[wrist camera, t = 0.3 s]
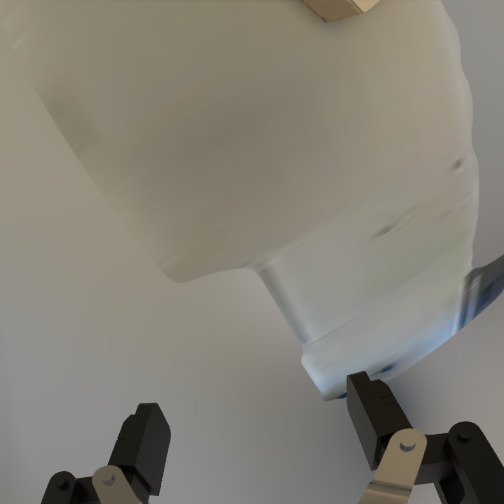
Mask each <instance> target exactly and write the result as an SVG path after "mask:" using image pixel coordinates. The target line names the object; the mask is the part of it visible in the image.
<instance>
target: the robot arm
mask: <svg viewBox="0 0 504 504" xmlns="http://www.w3.org/2000/svg"><path fill="white" fill-rule="evenodd" d="M347 407H348V411H349V414H350V417H351V419H352V422H353V424H354V427H355V429H356V432H357V435H358V437H359V440H360V442H361V445H362V447H363V450H364V453H365V455H366V458H367V460H368V463H369V466H370V469H371V471H373V470H376V469H377V471H376V474H375V476H374V478H373V480H372V481H371V483H369V484H368V486H367V488H366V489H365V491H364V493H363V495H362V497H361V499H360V501H359V503H358V504H407V502H408V499H409V497H410V494H411V490H412V487H413V485H419V484H427V483H434V485H435V488H436V490H437V493H438V495H439V498H440V500H441V503H442V504H504V467H503V465H502V463H501V462H500V460H499V458H498V457H497V455H496V453H495V452H494V450H493V448H492V447H491V445H490V443H489V442H488V440H487V439H486V437H485V436H484V434H483V432H482V431H481V429H480V428H479V426H477V425H476V424H475V423H472V422H467V421H464V422H459V423H457V424H455V425H454V426H453V427H451V429H450V430H449V432H448V433H443V434H436V435H425V434H423V433H422V432H420V431H418V430H416V429H413V427H412V426H411V424H410V422H409V421H408V419H407V417H406V415H405V414H404V412H403V410H402V409H401V407H400V405H399V403H398V402H397V400H396V398H395V397H394V395H393V393H392V392H391V390H390V388H389V387H388V385H387V384H385V383H384V382H382V381H381V380H379V379H378V380H374V381H370V379H369V377H368V375H367V373H366V372H365V371H362V372H358V373H354V374H350V375H347ZM170 438H171V432H170V428H169V425H168V423H167V421H166V419H165V417H164V415H163V413H162V411H161V409H160V407H159V405H158V404H157V403H141V404H139V405H138V408H137V410H136V413H135V415H130V416H129V417H128V418H127V419H126V420H125V421H124V422H123V425H122V428H121V430H120V433H119V435H118V440H117V441H116V443H115V446H114V449H113V452H112V454H111V457H110V460H109V463H108V465H107V466H104V467H101V468H99V469H98V470H97V471H96V472H95V473H94V475H93V476H92V477H84V478H77V479H76V478H75V477H74V476H73V475H72V474H71V473H70V472H67V471H61V472H58V473H56V474H55V475H53V476H52V477H51V479H50V481H49V484H48V486H47V488H46V491H45V494H44V496H43V499H42V502H41V504H150V503H149V502H148V499H149V495H154V496H159V492H160V487H161V482H162V477H163V472H164V467H165V462H166V457H167V453H168V448H169V443H170Z"/></svg>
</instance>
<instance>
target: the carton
mask: <svg viewBox="0 0 504 504" xmlns="http://www.w3.org/2000/svg"><path fill="white" fill-rule="evenodd" d="M302 1H303V2H304V3H305V4H307V5H308V6H309V7H310V8H311V9H312V10H313V11H314V12H315V13H316V14H317V15H319V16H320V17H321V18H322V19H323V20H324V21H325V22H329V21H333V20H337V19H341V18H345V17H350V16H354V15H359V14H361V12H360V11H359V10H358V9H357V8H356V7H355V6H354V5H353V4H352V3H351V2H350V1H349V0H302Z"/></svg>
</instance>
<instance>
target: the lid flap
mask: <svg viewBox="0 0 504 504" xmlns="http://www.w3.org/2000/svg"><path fill="white" fill-rule="evenodd" d="M349 1H350V2H351V3H352V4H353V5H354V6H355V7H356V8H357V9H358V10H359V11H360V12H361V13H365V12H366V11H367V10H369V9H370V8H371V7H372V6H374V5H375V4H376V3H378V2H379V1H380V0H349Z"/></svg>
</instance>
